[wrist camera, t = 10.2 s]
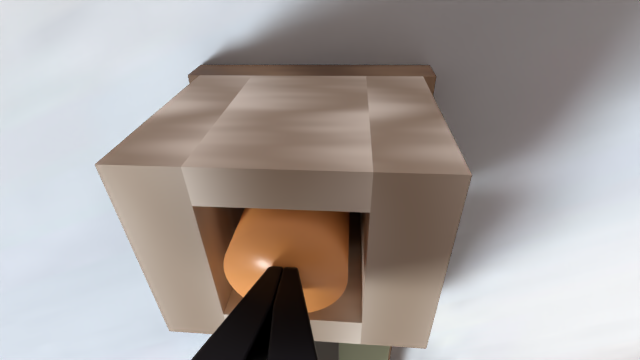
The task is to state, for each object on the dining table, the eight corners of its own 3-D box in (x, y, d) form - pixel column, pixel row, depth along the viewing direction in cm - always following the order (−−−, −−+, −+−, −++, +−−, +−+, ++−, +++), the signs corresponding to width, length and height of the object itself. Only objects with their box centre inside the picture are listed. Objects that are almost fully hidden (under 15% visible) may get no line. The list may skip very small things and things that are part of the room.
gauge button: (351, 139, 13) (349, 231, 9) (349, 214, 15) (346, 316, 11) (257, 137, 13) (212, 225, 9) (267, 211, 15) (234, 310, 11)
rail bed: (429, 65, 15) (495, 175, 8) (379, 395, 31) (386, 527, 24) (201, 64, 16) (75, 163, 9) (268, 386, 32) (244, 511, 25)
